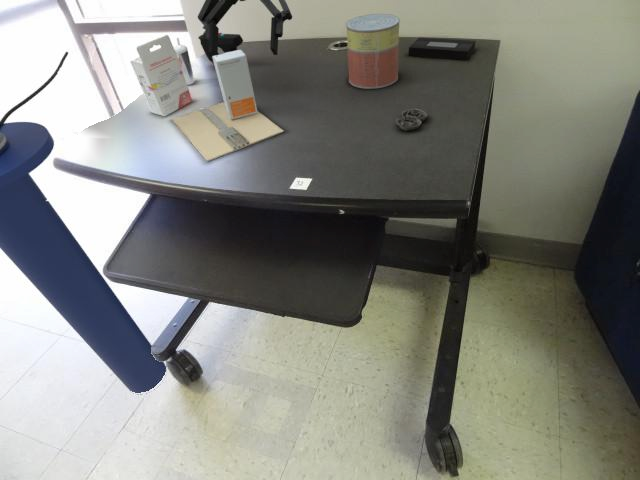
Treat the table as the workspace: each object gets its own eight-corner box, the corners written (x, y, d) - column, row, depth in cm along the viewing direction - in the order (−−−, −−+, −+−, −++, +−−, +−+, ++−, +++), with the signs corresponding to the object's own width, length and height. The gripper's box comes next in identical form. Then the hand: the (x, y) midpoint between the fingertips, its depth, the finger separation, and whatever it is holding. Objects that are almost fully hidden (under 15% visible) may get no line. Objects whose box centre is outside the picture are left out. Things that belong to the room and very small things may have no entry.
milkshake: (199, 77, 105) (186, 36, 98) (195, 85, 101) (182, 43, 94) (182, 79, 105) (168, 38, 98) (178, 87, 101) (163, 45, 94)
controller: (213, 62, 112) (202, 23, 106) (250, 64, 108) (241, 24, 101) (204, 68, 110) (192, 28, 103) (242, 70, 105) (232, 29, 98)
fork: (197, 112, 88) (196, 110, 88) (210, 108, 89) (209, 106, 89) (234, 149, 74) (233, 147, 74) (249, 143, 75) (248, 141, 75)
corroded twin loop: (391, 130, 74) (391, 125, 73) (405, 111, 79) (405, 106, 78) (417, 134, 72) (417, 129, 71) (430, 114, 77) (431, 109, 76)
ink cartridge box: (180, 98, 96) (156, 31, 86) (193, 101, 93) (170, 34, 83) (150, 113, 91) (122, 44, 81) (163, 117, 89) (136, 47, 79)
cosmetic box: (231, 121, 83) (215, 62, 75) (227, 113, 86) (211, 55, 78) (259, 113, 84) (246, 54, 76) (253, 106, 87) (240, 48, 79)
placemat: (172, 120, 87) (172, 119, 87) (239, 97, 92) (239, 96, 92) (207, 161, 73) (206, 160, 72) (283, 132, 78) (283, 130, 78)
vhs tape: (418, 45, 105) (419, 37, 104) (474, 49, 99) (475, 40, 98) (408, 55, 100) (408, 47, 99) (466, 60, 94) (467, 51, 93)
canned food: (376, 65, 98) (375, 11, 90) (408, 77, 91) (411, 19, 83) (339, 79, 94) (335, 23, 86) (370, 93, 87) (369, 33, 78)
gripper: (308, -39, 86) (304, 59, 86) (201, -28, 91) (197, 64, 90) (300, -66, 79) (296, 40, 78) (184, -53, 83) (179, 47, 83)
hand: (243, 53), depth 84 cm, fingers open, 13 cm apart
